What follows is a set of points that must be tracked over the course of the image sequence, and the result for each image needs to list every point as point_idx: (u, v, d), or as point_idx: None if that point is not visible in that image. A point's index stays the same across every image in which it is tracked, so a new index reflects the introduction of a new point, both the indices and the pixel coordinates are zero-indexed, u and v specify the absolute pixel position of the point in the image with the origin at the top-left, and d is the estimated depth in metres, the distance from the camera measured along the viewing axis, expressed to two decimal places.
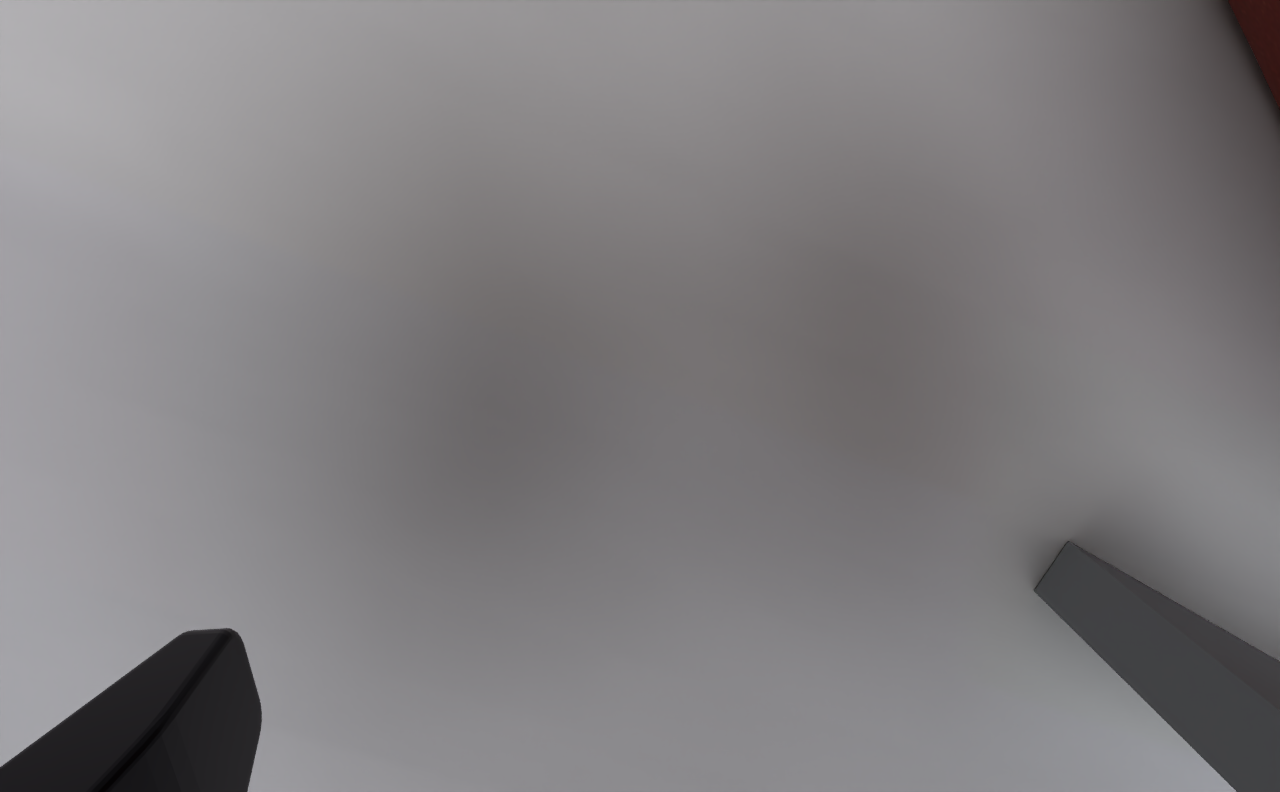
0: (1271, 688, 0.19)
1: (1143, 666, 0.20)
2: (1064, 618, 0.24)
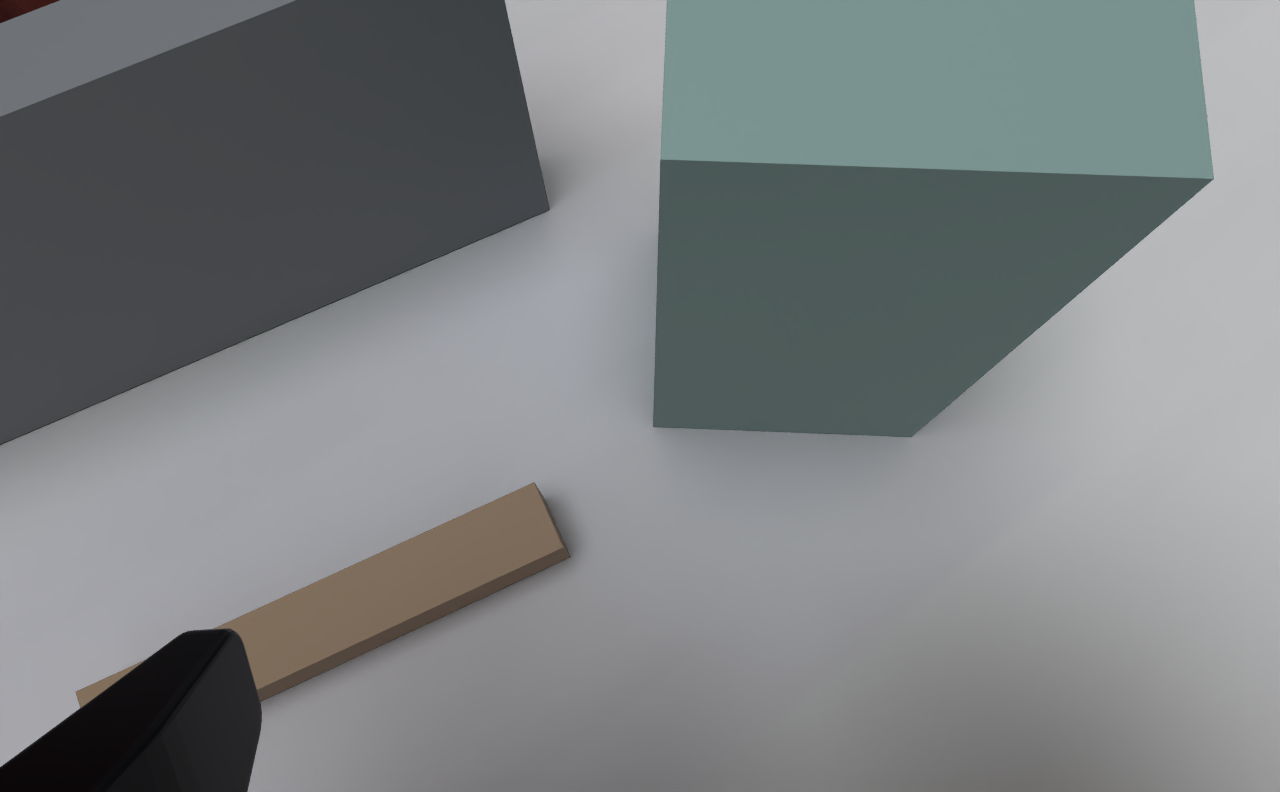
0: None
1: None
2: None
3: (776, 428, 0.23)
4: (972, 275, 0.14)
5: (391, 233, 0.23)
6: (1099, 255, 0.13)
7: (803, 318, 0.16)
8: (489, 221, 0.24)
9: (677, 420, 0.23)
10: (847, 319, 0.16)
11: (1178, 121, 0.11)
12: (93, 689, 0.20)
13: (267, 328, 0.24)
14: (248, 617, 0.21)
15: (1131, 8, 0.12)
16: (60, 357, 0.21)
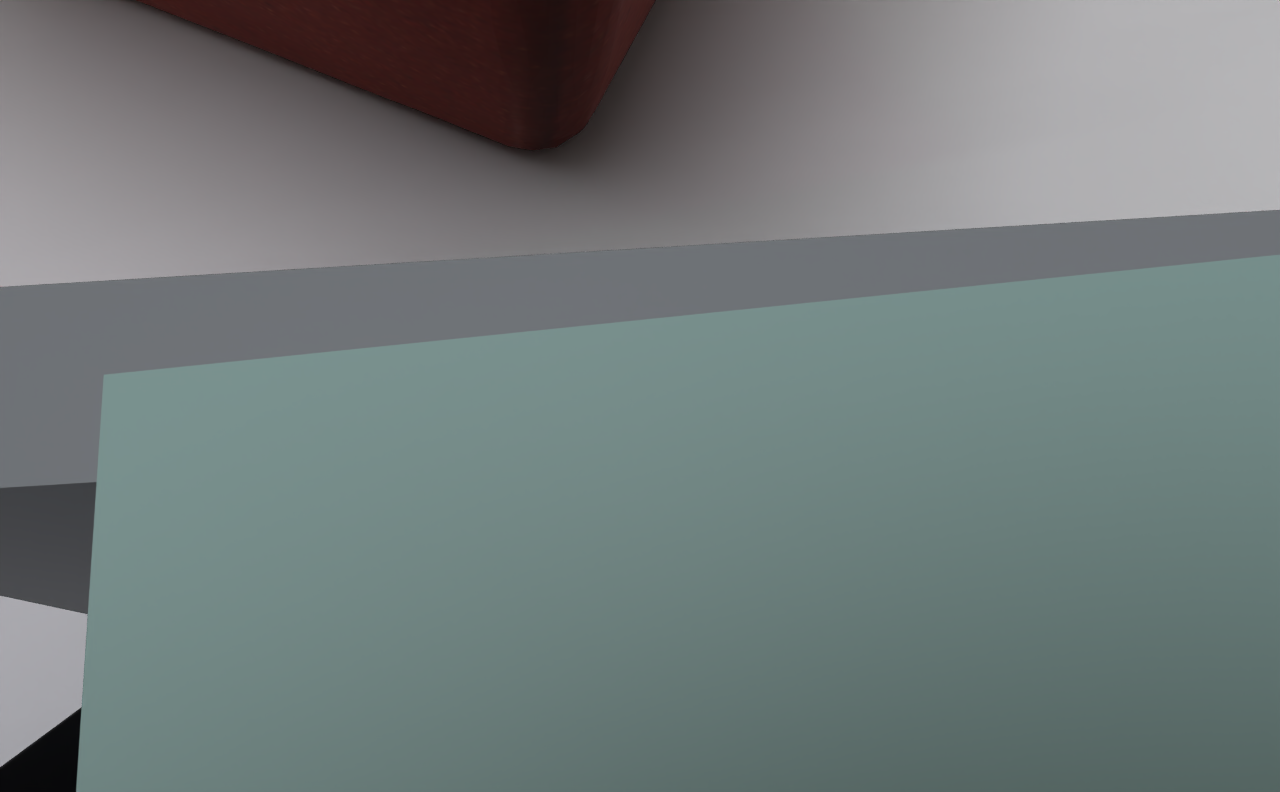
0: None
1: None
2: None
3: None
4: None
5: None
6: None
7: None
8: None
9: None
10: None
11: None
12: None
13: None
14: None
15: None
16: None
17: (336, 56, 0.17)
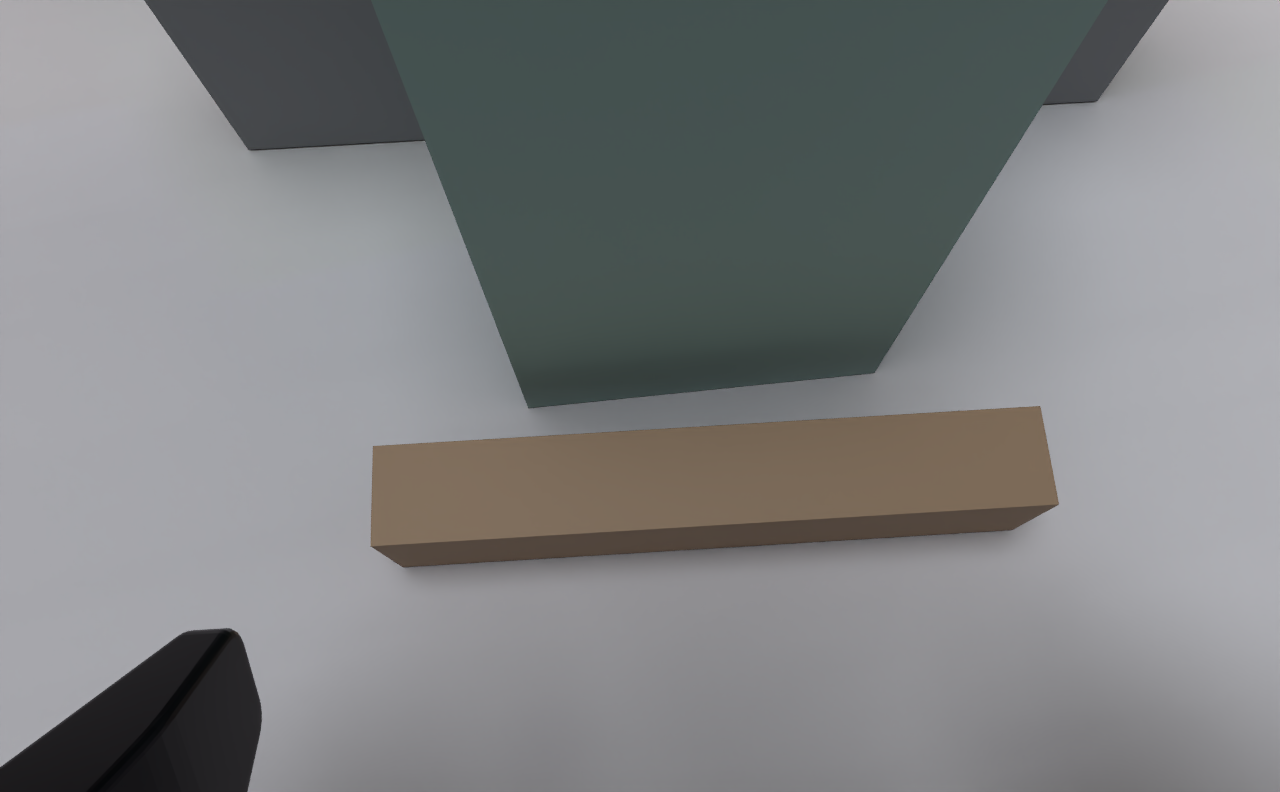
0: None
1: None
2: (211, 94, 0.17)
3: (693, 385, 0.17)
4: None
5: None
6: None
7: (669, 140, 0.10)
8: None
9: (556, 391, 0.17)
10: (739, 130, 0.10)
11: None
12: (395, 452, 0.15)
13: None
14: (616, 437, 0.15)
15: None
16: None
17: None
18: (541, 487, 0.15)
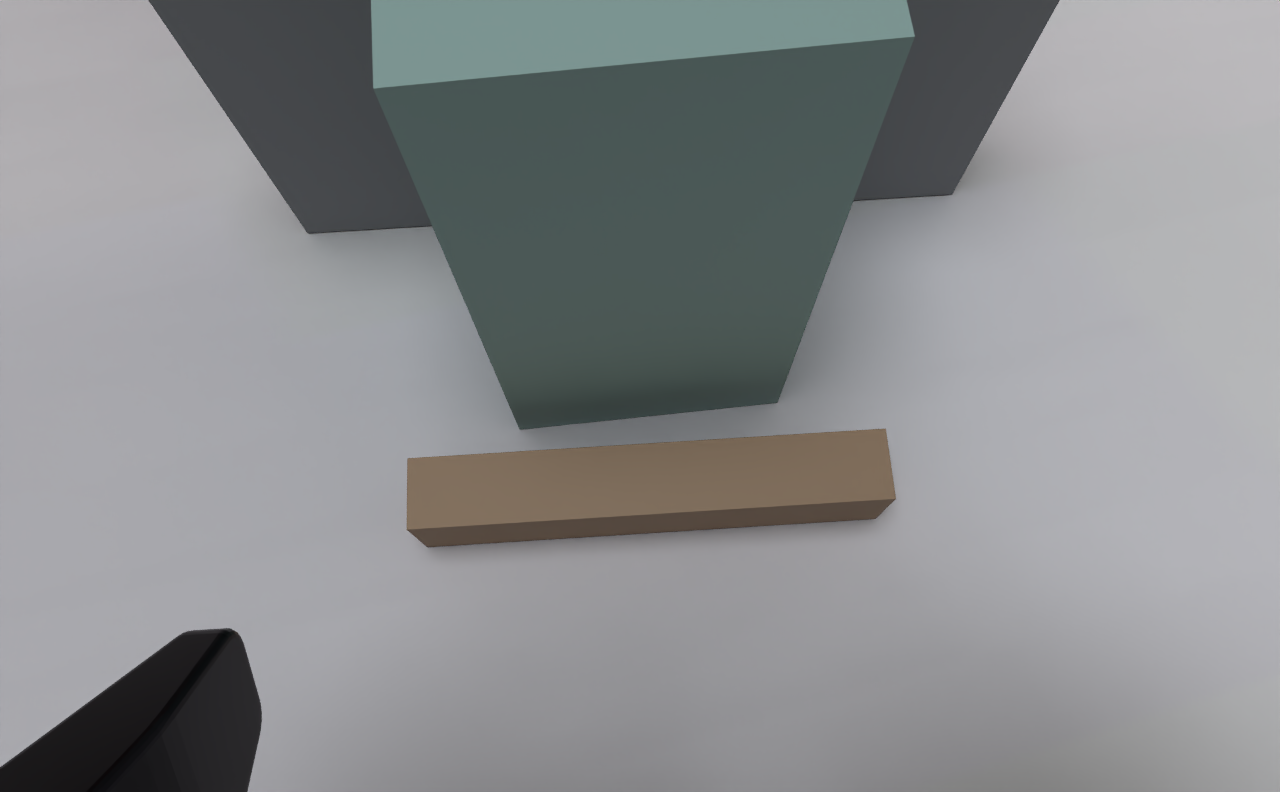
0: None
1: None
2: (284, 196, 0.23)
3: (641, 412, 0.23)
4: (742, 190, 0.14)
5: None
6: (851, 146, 0.13)
7: (603, 268, 0.16)
8: (899, 182, 0.25)
9: (539, 417, 0.23)
10: (647, 263, 0.16)
11: None
12: (423, 462, 0.21)
13: None
14: (581, 451, 0.21)
15: None
16: None
17: None
18: (527, 487, 0.21)
